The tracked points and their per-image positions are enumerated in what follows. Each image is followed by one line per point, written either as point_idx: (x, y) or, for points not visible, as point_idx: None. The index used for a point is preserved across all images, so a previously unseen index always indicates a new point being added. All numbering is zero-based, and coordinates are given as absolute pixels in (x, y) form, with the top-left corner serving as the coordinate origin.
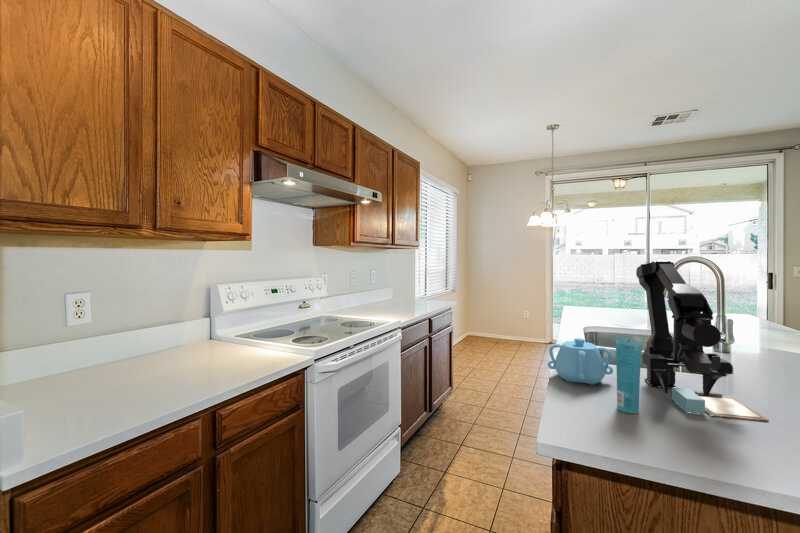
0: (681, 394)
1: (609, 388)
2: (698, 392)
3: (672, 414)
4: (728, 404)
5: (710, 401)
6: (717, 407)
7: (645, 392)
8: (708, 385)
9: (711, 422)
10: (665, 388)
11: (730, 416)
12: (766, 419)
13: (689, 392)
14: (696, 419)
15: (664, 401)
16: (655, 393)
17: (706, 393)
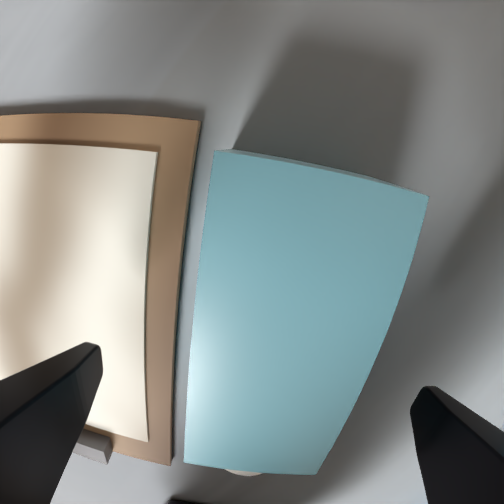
0: (381, 338)
1: None
2: (97, 450)
3: (472, 157)
4: (1, 321)
5: None
6: (66, 275)
7: (363, 465)
8: (20, 408)
9: (278, 13)
10: (464, 409)
11: (66, 117)
12: None
13: (236, 401)
14: (363, 61)
15: None
16: None
17: (82, 359)
